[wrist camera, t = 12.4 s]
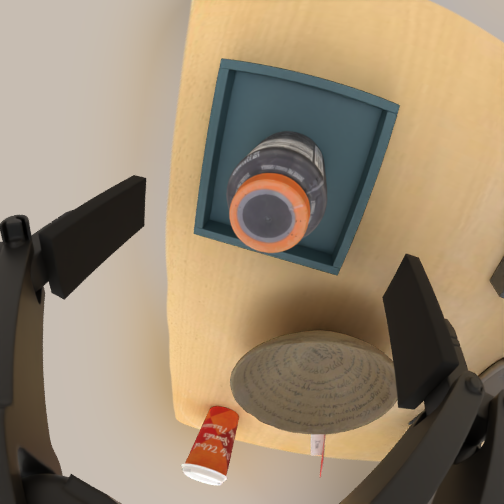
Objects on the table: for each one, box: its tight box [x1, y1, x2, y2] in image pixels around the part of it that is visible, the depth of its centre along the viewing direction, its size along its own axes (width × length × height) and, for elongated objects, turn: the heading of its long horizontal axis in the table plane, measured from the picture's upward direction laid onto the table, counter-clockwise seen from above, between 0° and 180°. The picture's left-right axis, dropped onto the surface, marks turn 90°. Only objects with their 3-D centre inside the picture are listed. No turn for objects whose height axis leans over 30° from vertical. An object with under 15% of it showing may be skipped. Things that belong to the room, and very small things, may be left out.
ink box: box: [311, 434, 326, 477], centre depth 40 cm, size 2×11×10 cm, turn 9°
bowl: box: [230, 330, 398, 435], centre depth 31 cm, size 18×18×8 cm
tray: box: [194, 59, 400, 275], centre depth 23 cm, size 16×14×2 cm
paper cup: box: [182, 406, 239, 485], centre depth 43 cm, size 8×8×14 cm
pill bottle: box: [226, 131, 327, 253], centre depth 19 cm, size 6×6×11 cm
